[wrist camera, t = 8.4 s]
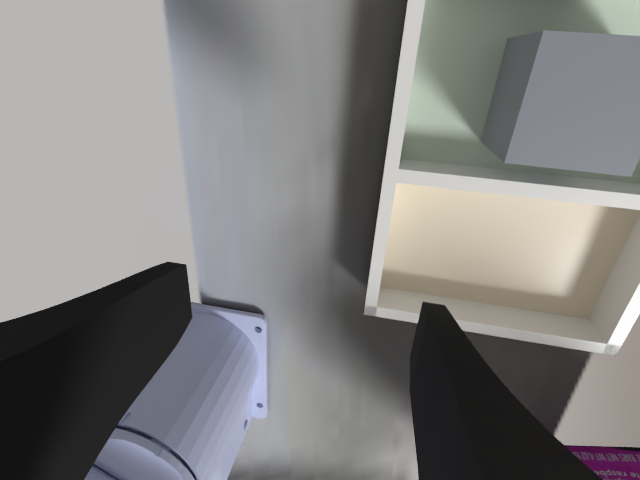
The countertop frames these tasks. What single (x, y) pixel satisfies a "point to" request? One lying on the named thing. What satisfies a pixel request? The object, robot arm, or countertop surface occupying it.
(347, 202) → the countertop surface
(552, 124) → the slate block
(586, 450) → the candy bar box
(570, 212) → the two-bin tray
